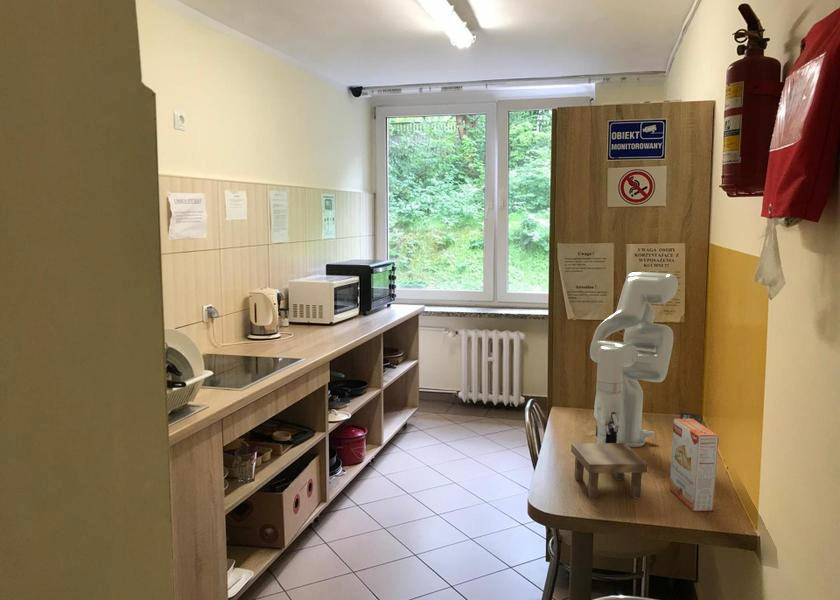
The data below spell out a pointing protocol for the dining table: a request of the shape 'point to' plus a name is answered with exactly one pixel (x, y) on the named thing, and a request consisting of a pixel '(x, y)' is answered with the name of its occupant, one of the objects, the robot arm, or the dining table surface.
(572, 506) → the dining table surface
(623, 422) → the robot arm
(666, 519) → the dining table surface
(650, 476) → the dining table surface
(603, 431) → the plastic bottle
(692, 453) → the cracker box
